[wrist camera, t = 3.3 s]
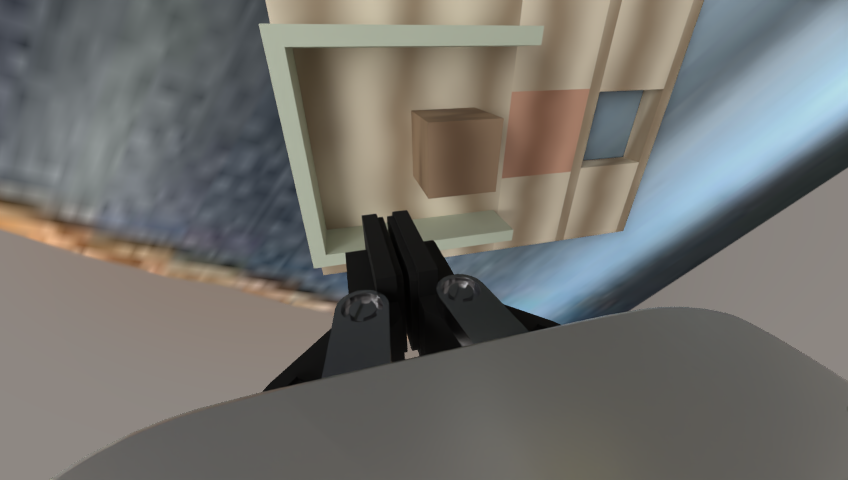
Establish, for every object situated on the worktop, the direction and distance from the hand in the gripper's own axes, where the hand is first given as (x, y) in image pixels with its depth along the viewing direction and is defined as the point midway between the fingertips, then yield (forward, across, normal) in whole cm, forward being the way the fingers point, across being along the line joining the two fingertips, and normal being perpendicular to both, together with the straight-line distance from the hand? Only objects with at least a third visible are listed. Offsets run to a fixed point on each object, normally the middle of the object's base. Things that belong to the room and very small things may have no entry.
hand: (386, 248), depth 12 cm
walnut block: (+14, -7, 0) cm, 16 cm away
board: (+16, -12, 0) cm, 20 cm away
